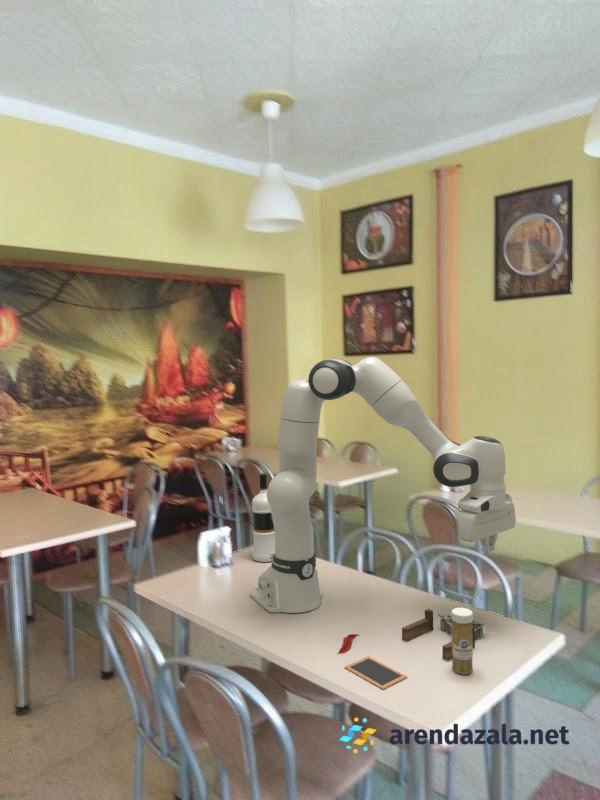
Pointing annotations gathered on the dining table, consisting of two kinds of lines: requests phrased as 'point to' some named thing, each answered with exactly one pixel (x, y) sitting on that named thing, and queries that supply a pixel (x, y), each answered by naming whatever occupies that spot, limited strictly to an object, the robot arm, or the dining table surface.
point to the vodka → (262, 525)
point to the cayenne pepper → (347, 643)
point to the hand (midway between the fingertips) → (488, 551)
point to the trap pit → (376, 672)
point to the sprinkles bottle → (462, 640)
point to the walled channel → (426, 626)
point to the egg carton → (447, 626)
